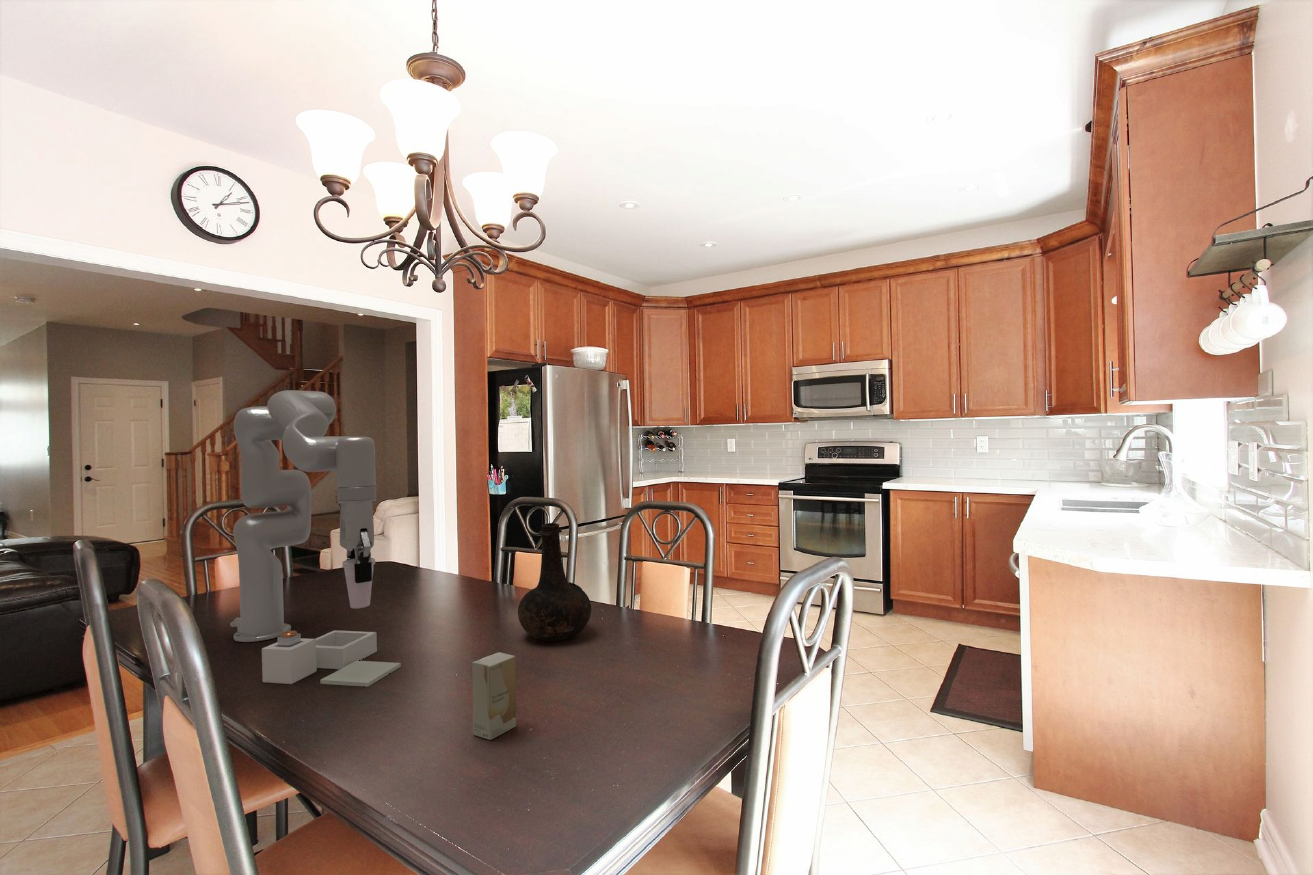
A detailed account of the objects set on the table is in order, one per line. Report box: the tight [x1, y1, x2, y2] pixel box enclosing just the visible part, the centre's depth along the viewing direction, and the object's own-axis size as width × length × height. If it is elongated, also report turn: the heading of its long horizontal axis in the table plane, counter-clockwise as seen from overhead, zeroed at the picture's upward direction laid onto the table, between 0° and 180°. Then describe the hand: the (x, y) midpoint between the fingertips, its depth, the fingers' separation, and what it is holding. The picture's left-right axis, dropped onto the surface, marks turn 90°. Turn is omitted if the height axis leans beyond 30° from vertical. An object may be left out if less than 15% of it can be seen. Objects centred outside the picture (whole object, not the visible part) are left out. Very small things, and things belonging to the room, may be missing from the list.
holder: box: [315, 630, 378, 670], centre depth 143 cm, size 11×11×4 cm
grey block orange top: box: [276, 630, 302, 647], centre depth 132 cm, size 3×3×7 cm
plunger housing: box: [261, 637, 318, 685], centre depth 133 cm, size 7×7×7 cm
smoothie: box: [341, 547, 376, 609], centre depth 132 cm, size 6×6×14 cm
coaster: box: [319, 660, 402, 688], centre depth 132 cm, size 11×11×1 cm
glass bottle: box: [517, 522, 592, 642], centre depth 155 cm, size 18×18×28 cm
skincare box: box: [471, 651, 517, 741], centre depth 106 cm, size 6×4×12 cm
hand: (359, 578), depth 132 cm, fingers closed on smoothie, 6 cm apart
